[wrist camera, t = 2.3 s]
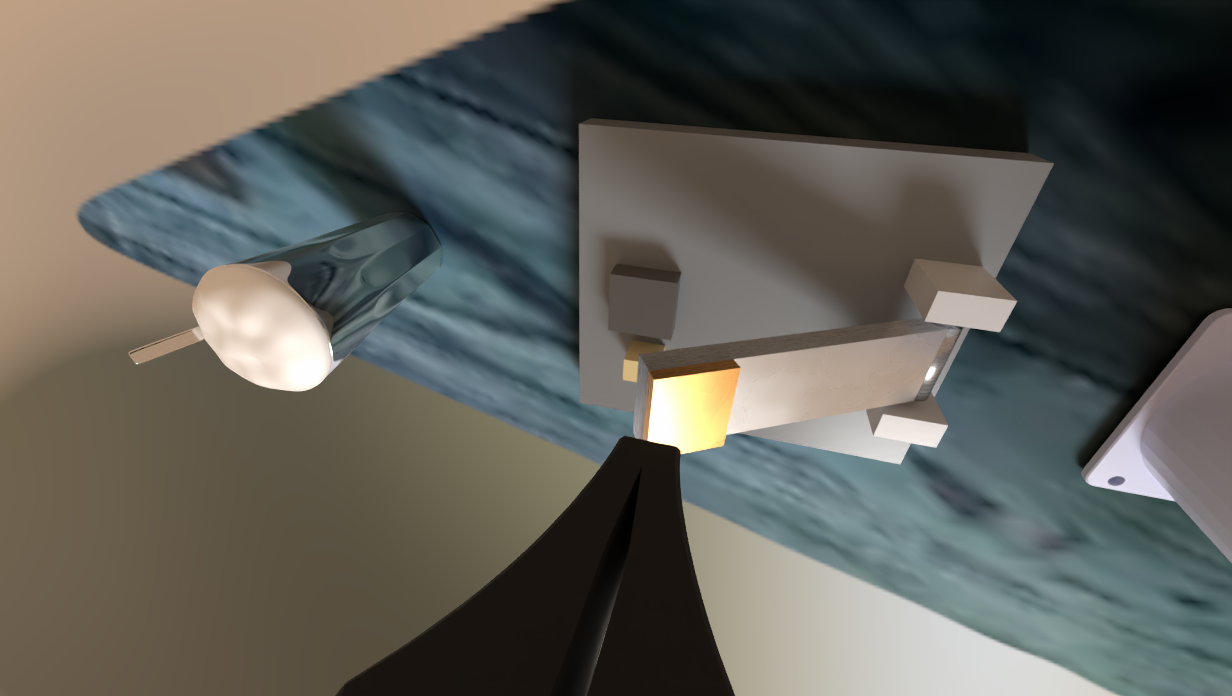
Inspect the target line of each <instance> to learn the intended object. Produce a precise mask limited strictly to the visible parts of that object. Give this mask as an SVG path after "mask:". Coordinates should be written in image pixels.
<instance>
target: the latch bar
mask: <svg viewBox="0 0 1232 696" xmlns="http://www.w3.org/2000/svg"><path fill="white" fill-rule="evenodd" d="M963 328H964V327H961V326H954V325H947V324H940V323H933V322H926V321H924V319H923V318H916V319H908V320H900V321H892V322H884V323H877V324H869V325H861V326H853V327H845V328H838V329H830V330H822V331H814V332H806V333H798V334H791V335H783V336H775V337H767V338H759V339H752V340H744V341H736V342H728V343H720V344H712V345H705V346H697V347H689V348H681V349H673V350H666V351H658V352H650V353H642V354H639V360H638V373H637V386H636V398H635V411H634V424H633V433H634V435H635V437H636V438H637V439H642V440H647V441H652V442H657V443H662V444H667V445H672V446H677V447H678V448H679V450H680V451H681V454H682V453H687V452H693V451H698V450H703V449H709V448H714V447H719V446H723V445H724V441H725V436H726V435H728V434H734V433H739V432H745V431H750V430H756V429H761V428H767V427H772V426H778V425H783V424H789V423H794V422H800V421H805V420H811V419H817V418H822V417H828V416H833V415H839V414H844V413H850V412H855V411H861V410H866V409H872V408H877V407H883V406H888V405H894V404H899V403H905V402H910V401H918V402H923V401H926V400H927V399H928V397H929V395H930V393H931V391H932V389H933V387H934V385H935V384H936V382H937V380H938V378H939V376H940V374H941V372H942V370H943V368H944V366H945V364H946V362H947V360H948V358H949V356H950V354H951V352H952V350H953V348H954V346H955V344H956V342H957V340H958V338H959V336H960V334H961V332H962V330H963Z"/></svg>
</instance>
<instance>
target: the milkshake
mask: <svg viewBox="0 0 1232 696" xmlns="http://www.w3.org/2000/svg"><path fill="white" fill-rule="evenodd" d="M440 267H441V245H440V243H439V241H438V240H437V238H436V236H435V234H434V233H433V231H432V229H431V227H430V226H429V225H428V224H426V223H425V222H423V221H422V220H420V219H419V218H417V217H416V216H414V215H413V214H411V213H410V212H390V213H386V214H383V215H380V216H377V217H374V218H371V219H368V220H365V221H362V222H359V223H356V224H353V225H350V226H347V227H344V228H341V229H338V230H335V231H332V232H329V233H326V234H323V235H320V236H317V237H314V238H311V239H309V240H306V241H303V242H300V243H297V244H294V245H290V246H287V247H284V248H280V249H277V250H274V251H270V252H267V253H264V254H260V255H257V256H254V257H250V258H247V259H244V260H240V261H237V262H234V263H230V264H227V265H223V266H218V267H215V268H213V269H211V270H209V271H207V272H206V273H205V274H204V276H203V277H202V279H201V281H200V283H199V284H198V286H197V288H196V290H195V293H194V296H193V302H192V308H193V313H194V315H195V317H196V319H197V321H198V324H199V326H198V327H195V328H192V329H190V330H187V331H184V332H181V333H178V334H176V335H173V336H170V337H168V338H165V339H162V340H160V341H156V342H154V343H151V344H148V345H146V346H143V347H140V348H137V349H135V350H132V351H130V352H129V355H130V357H131V358H132V359H133V361H134V362H135V363H136V364H140V363H143V362H146V361H148V360H151V359H153V358H156V357H159V356H162V355H164V354H167V353H170V352H172V351H175V350H177V349H180V348H183V347H185V346H188V345H190V344H193V343H196V342H198V341H201V340H204V339H205V340H206V341H207V343H208V344H209V345H210V346H211V348H212V349H213V350H214V351H215V352H216V354H217V355H218V357H219V358H220V359H221V360H222V362H223V363H224V364H225V365H226V366H227V367H228V368H229V369H231V370H232V371H234V372H236V373H237V374H239V375H240V376H242V377H243V378H245V379H247V380H249V381H251V382H253V383H255V384H257V385H260V386H263V387H267V388H273V389H281V390H288V391H304V390H308V389H311V388H313V387H315V386H317V385H318V384H320V383H321V382H322V381H323V380H324V378H325V377H326V376H327V375H328V374H329V373H330V372H331V371H332V370H333V369H334V368H335V367H336V366H337V365H338V364H339V363H341V362H342V360H344V359H345V358H346V357H347V356H348V355H349V354H350V353H351V352H352V351H353V350H354V349H355V348H356V347H357V346H358V345H359V344H360V343H361V342H362V341H363V340H364V339H365V338H366V337H367V336H368V335H369V333H370V332H371V331H372V330H373V329H374V328H375V327H376V326H377V325H378V324H379V323H380V322H381V321H382V320H383V319H384V318H385V317H387V316H388V315H389V314H390V313H391V312H392V311H393V310H394V309H395V308H397V307H398V306H399V305H400V304H401V303H402V302H403V301H404V300H405V299H407V298H408V297H409V296H410V295H411V294H412V293H413V292H414V291H416V290H417V289H418V288H419V287H420V286H421V285H422V284H423V283H424V282H426V281H427V280H428V279H429V278H430V277H431V276H432V275H433V274H434V273H435V272H436V271H437V270H438V269H439V268H440Z"/></svg>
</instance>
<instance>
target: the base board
mask: <svg viewBox="0 0 1232 696" xmlns="http://www.w3.org/2000/svg"><path fill="white" fill-rule="evenodd" d="M1053 164H1054V163H1052V162H1050V161H1047V160H1045V159H1042V158H1040V157H1037V156H1035V155H1033V154H1030V153H1021V152H1008V151H996V150H983V149H971V148H958V147H946V146H933V145H921V144H909V143H896V142H884V141H871V140H859V139H846V138H834V137H821V136H809V135H796V134H784V133H772V132H759V131H747V130H734V129H722V128H709V127H697V126H684V125H672V124H659V123H647V122H634V121H622V120H610V119H597V118H591V119H589V120H586V121H584V122H582V123H580V124H579V352H580V402H581V403H586V404H591V405H596V406H601V407H607V408H612V409H617V410H622V411H627V412H633V413H634V411H635V398H636V386H637V373H638V360H639V354H642V353H650V352H658V351H666V350H673V349H681V348H689V347H697V346H705V345H712V344H720V343H728V342H736V341H744V340H752V339H759V338H767V337H775V336H783V335H791V334H798V333H806V332H814V331H822V330H830V329H838V328H845V327H853V326H861V325H869V324H877V323H884V322H892V321H900V320H908V319H916V318H923V319H924V321H926V322H933V323H940V324H947V325H954V326H961V327H964V328H963V330H962V332H961V334H960V336H959V338H958V340H957V342H956V344H955V346H954V348H953V350H952V352H951V354H950V356H949V358H948V360H947V362H946V364H945V366H944V368H943V370H942V372H941V374H940V376H939V378H938V380H937V382H936V384H935V385H934V387H933V389H932V391H931V393H930V395H929V397H928V399H927V400H926V401H923V402H918V401H910V402H905V403H899V404H894V405H888V406H883V407H877V408H872V409H866V410H861V411H855V412H850V413H844V414H839V415H833V416H828V417H822V418H817V419H811V420H805V421H800V422H794V423H789V424H783V425H778V426H772V427H767V428H761V429H756V430H750V431H745V432H739V433H741V434H746V435H751V436H757V437H762V438H767V439H772V440H777V441H782V442H788V443H793V444H798V445H803V446H808V447H813V448H819V449H824V450H829V451H834V452H839V453H845V454H850V455H855V456H860V457H865V458H870V459H876V460H881V461H886V462H891V463H896V464H901V462H902V460H903V458H904V456H905V454H906V452H907V450H908V448H909V446H910V444H911V443H914V444H919V445H925V446H930V447H935V448H936V447H937V445H938V443H939V441H940V439H941V438H942V436H943V434H944V432H945V430H946V429H947V427H948V424H947V422H946V420H945V418H944V416H943V414H942V412H941V410H940V408H939V406H938V404H937V402H936V400H935V398H934V397H935V395H936V393H937V391H938V389H939V387H940V385H941V383H942V381H943V380H944V378H945V376H946V374H947V372H948V370H949V368H950V366H951V364H952V362H953V360H954V358H955V356H956V354H957V352H958V350H959V348H960V346H961V344H962V342H963V340H964V338H965V337H966V335H967V333H968V331H969V329H970V328H975V329H982V330H989V331H996V332H1000V331H1001V329H1002V328H1003V326H1004V324H1005V322H1006V320H1007V318H1008V317H1009V315H1010V313H1011V311H1012V309H1013V308H1014V306H1015V304H1016V302H1017V301H1016V300H1015V299H1014V298H1013V297H1012V296H1011V295H1010V294H1009V293H1008V291H1007V290H1006V289H1005V288H1004V287H1003V286H1002V285H1001V284H1000V283H999V282H998V281H997V280H996V279H995V278H996V276H997V274H998V272H999V270H1000V268H1001V266H1002V264H1003V262H1004V260H1005V258H1006V256H1007V254H1008V252H1009V250H1010V249H1011V247H1012V245H1013V243H1014V241H1015V239H1016V237H1017V235H1018V233H1019V231H1020V229H1021V227H1022V225H1023V223H1024V221H1025V219H1026V217H1027V215H1028V213H1029V211H1030V209H1031V207H1032V205H1033V204H1034V202H1035V200H1036V198H1037V196H1038V194H1039V192H1040V190H1041V188H1042V186H1043V184H1044V182H1045V180H1046V178H1047V176H1048V174H1049V172H1050V170H1051V168H1052V166H1053Z"/></svg>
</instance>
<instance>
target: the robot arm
mask: <svg viewBox="0 0 1232 696" xmlns="http://www.w3.org/2000/svg"><path fill="white" fill-rule="evenodd" d="M680 455H681V451H680V450H679V448H678V447H677V446H672V445H667V444H662V443H657V442H652V441H647V440H642V439H637V438H632V437H627V436H624V437H622V438H620V439H619V441H618V442H617V444H616V446H615V447H614V449H613V450H612V452H611V453H610V455H609V456H608V458H607V459H606V461H605V462H604V463H603V465H602V466H601V468H600V469H599V470H598V471H597V473H596V474H595V475H594V477H593V478H592V479H591V480H590V482H589V483H588V484H587V485H586V486H585V488H584V489H583V490H582V491H581V492H580V494H579V495H578V496H577V498H576V499H575V500H574V501H573V502H572V503H571V504H570V505H569V507H568V508H567V509H566V510H565V511H564V512H563V513H562V514H561V515H560V516H559V517H558V518H557V519H556V520H555V522H554V523H553V524H552V525H551V526H550V527H549V528H548V529H547V530H546V531H545V532H544V533H543V534H542V535H541V536H540V537H539V538H538V539H537V540H536V541H535V542H534V543H533V544H532V545H531V546H530V547H529V548H528V549H527V550H526V551H525V552H523V553H522V554H521V555H520V556H519V557H518V558H517V559H516V560H515V561H514V562H512V563H511V564H510V565H509V566H508V567H507V568H506V569H505V570H503V571H502V572H501V573H500V574H499V575H497V576H496V577H495V578H494V579H493V580H491V581H490V582H489V583H488V584H487V585H486V586H484V587H483V588H482V589H481V590H479V591H478V592H477V593H476V594H475V595H473V596H472V597H471V598H469V599H468V600H467V601H466V602H464V603H463V604H462V605H460V606H459V607H457V608H456V609H455V610H454V611H452V612H451V613H449V614H448V615H446V616H445V617H444V618H442V619H441V620H440V621H438V622H437V623H435V624H434V625H433V626H431V627H430V628H429V629H427V630H426V631H425V632H423V633H422V634H421V635H419V636H418V637H416V638H414V639H413V640H412V641H410V642H409V643H407V644H406V645H404V646H403V647H401V648H399V649H398V650H396V651H395V652H393V653H392V654H390V655H388V656H387V657H385V658H384V659H382V660H381V661H379V662H377V663H376V664H374V665H373V666H371V667H370V668H368V669H366V670H365V671H363V672H362V673H360V674H359V675H357V676H355V677H354V678H352V679H351V680H349V681H348V682H347V683H346V684H344V686H343V687H342V688H341V689H340V691H339V692H338V693H337V694H336V696H735V694H734V692H733V689H732V686H731V684H730V681H729V678H728V676H727V673H726V670H725V667H724V665H723V662H722V659H721V657H720V654H719V651H718V648H717V645H716V642H715V639H714V636H713V633H712V630H711V627H710V624H709V621H708V617H707V614H706V610H705V607H704V603H703V600H702V596H701V593H700V589H699V585H698V581H697V578H696V574H695V570H694V565H693V561H692V556H691V552H690V547H689V542H688V537H687V532H686V526H685V519H684V514H683V507H682V499H681V488H680ZM1081 474H1082V477H1083V478H1084V480H1085V481H1086V482H1087V483H1088V484H1090V485H1093V486H1097V487H1102V488H1107V489H1113V490H1118V491H1123V492H1129V493H1134V494H1139V495H1145V496H1150V497H1155V498H1160V499H1166V500H1171V501H1176V502H1177V503H1178V504H1179V505H1180V507H1181V508H1182V509H1183V510H1184V511H1185V512H1186V513H1187V514H1188V515H1189V516H1190V518H1191V519H1192V520H1193V521H1194V522H1195V523H1196V524H1197V525H1198V526H1199V527H1200V529H1201V530H1202V531H1203V532H1204V533H1205V534H1206V535H1207V536H1208V537H1209V539H1210V540H1211V541H1212V542H1213V543H1214V544H1215V545H1216V546H1217V547H1218V548H1219V550H1220V551H1221V552H1222V553H1223V554H1224V555H1225V556H1226V557H1227V558H1228V559H1229V561H1230V562H1231V563H1232V308H1226V309H1222V310H1218V311H1216V312H1214V313H1212V314H1210V315H1209V316H1208V317H1206V318H1205V319H1204V320H1203V322H1202V323H1201V324H1200V325H1199V327H1198V328H1197V329H1196V330H1195V331H1194V333H1193V334H1192V335H1191V336H1190V338H1189V339H1188V340H1187V341H1186V343H1185V344H1184V345H1183V346H1182V348H1181V349H1180V350H1179V351H1178V352H1177V354H1176V355H1175V356H1174V357H1173V359H1172V360H1171V361H1170V362H1169V364H1168V365H1167V366H1166V367H1165V368H1164V370H1163V371H1162V372H1161V373H1160V375H1159V376H1158V377H1157V378H1156V380H1155V381H1154V382H1153V383H1152V385H1151V386H1150V387H1149V388H1148V389H1147V391H1146V392H1145V393H1144V394H1143V396H1142V397H1141V398H1140V399H1139V401H1138V402H1137V403H1136V404H1135V405H1134V407H1133V408H1132V409H1131V410H1130V412H1129V413H1128V414H1127V415H1126V417H1125V418H1124V419H1123V420H1122V422H1121V423H1120V424H1119V425H1118V426H1117V428H1116V429H1115V430H1114V431H1113V433H1112V434H1111V435H1110V436H1109V438H1108V439H1107V440H1106V441H1105V443H1104V444H1103V445H1102V446H1101V447H1100V449H1099V450H1098V451H1097V452H1096V454H1095V455H1094V456H1093V457H1092V459H1091V460H1090V461H1089V462H1088V463H1087V465H1086V466H1085V467H1084V468H1083V470H1082V472H1081ZM1115 476H1116V477H1115ZM1112 477H1114V478H1112ZM610 616H611V617H610ZM609 619H610V620H609ZM608 622H609V624H608ZM607 625H608V627H607ZM606 628H607V630H606ZM605 631H606V634H605ZM604 634H605V637H604ZM603 637H604V641H603ZM602 641H603V644H602ZM601 644H602V648H601ZM600 648H601V651H600ZM599 651H600V654H599ZM598 655H599V657H598ZM597 658H598V661H597ZM596 662H597V664H596ZM595 666H596V667H595Z"/></svg>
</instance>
